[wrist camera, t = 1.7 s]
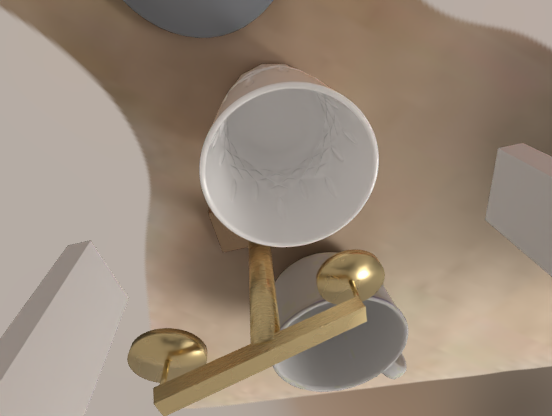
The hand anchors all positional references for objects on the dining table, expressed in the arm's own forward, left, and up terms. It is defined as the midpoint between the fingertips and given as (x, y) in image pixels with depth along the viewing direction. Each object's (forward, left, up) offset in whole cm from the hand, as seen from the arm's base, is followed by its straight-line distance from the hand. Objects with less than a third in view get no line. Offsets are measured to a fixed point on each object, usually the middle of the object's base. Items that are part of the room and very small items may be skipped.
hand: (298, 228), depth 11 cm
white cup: (0, 0, -14) cm, 14 cm away
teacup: (-2, +18, -14) cm, 23 cm away
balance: (+3, +8, -14) cm, 16 cm away
